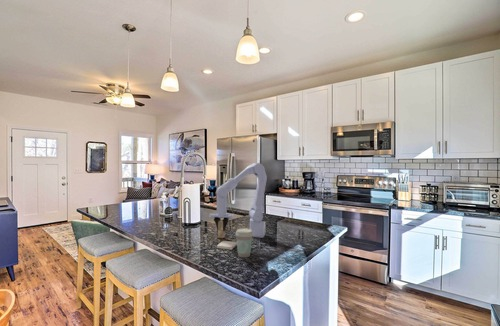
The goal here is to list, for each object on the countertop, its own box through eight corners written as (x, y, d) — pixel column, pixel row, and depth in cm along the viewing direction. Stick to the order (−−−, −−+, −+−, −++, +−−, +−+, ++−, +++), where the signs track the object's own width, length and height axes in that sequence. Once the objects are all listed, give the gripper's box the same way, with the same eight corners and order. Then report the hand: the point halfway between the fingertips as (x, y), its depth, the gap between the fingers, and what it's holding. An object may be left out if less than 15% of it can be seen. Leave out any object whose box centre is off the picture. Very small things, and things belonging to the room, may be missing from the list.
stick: (224, 236, 143) (224, 219, 143) (222, 238, 141) (223, 221, 140) (219, 236, 144) (219, 219, 144) (218, 237, 141) (218, 220, 141)
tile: (236, 242, 131) (231, 247, 124) (236, 245, 131) (231, 250, 124) (223, 240, 134) (217, 245, 126) (222, 243, 134) (217, 248, 126)
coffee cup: (231, 254, 117) (231, 230, 117) (244, 250, 123) (244, 226, 123) (243, 260, 111) (243, 234, 111) (256, 255, 117) (256, 230, 117)
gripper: (235, 206, 144) (235, 229, 144) (212, 205, 148) (212, 227, 148) (231, 209, 137) (231, 232, 138) (208, 207, 141) (207, 230, 141)
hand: (221, 230), depth 142 cm, fingers closed on stick, 3 cm apart
